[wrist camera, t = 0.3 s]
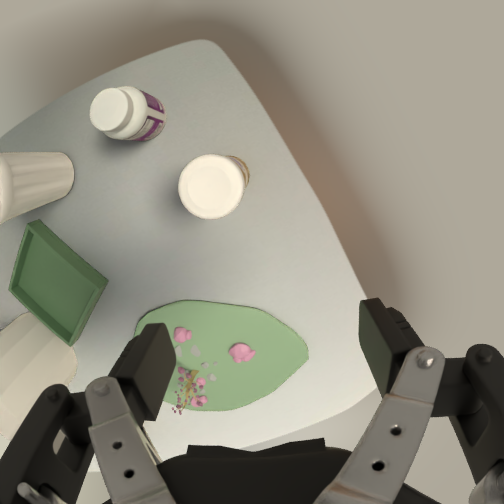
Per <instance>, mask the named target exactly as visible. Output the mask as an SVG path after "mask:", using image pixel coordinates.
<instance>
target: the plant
mask: <svg viewBox="0 0 504 504" xmlns="http://www.w3.org/2000/svg"><path fill="white" fill-rule="evenodd" d="M148 323H165V325H166V326H167V329H168V332H169V335H170V338H171V341H172V344H173V347H174V350H175V353H176V366H175V369H174V372H173V374H172V377H171V380H170V382H169V385H168V388H167V391H166V393H165V396H164V399H163V401H165V402H168V403H170V404H173V405H176V407H177V408H178V409H180V408H181V407H182V408H183V409H184V408H185V409H189V410H194V411H227V410H234V409H237V408H240V407H243V406H245V405H248V404H250V403H252V402H254V401H256V400H258V399H260V398H262V397H264V396H266V395H268V394H270V393H272V392H273V391H274V390H276V389H277V388H278V387H279V386H280V385H281V384H282V383H284V382H285V381H286V380H287V379H288V378H289V377H290V376H291V375H292V374H293V373H294V372H295V371H297V370H298V369H299V368H300V367H301V366H302V365H303V364H304V363H305V362H306V361H307V360H308V348H307V345H306V344H305V342H304V341H303V340H302V338H301V337H300V336H299V335H298V334H297V333H296V332H295V331H294V330H292V329H291V328H290V327H288V326H286V325H285V324H283V323H282V322H280V321H279V320H277V319H276V318H274V317H273V316H271V315H270V314H268V313H266V312H264V311H261V310H259V309H255V308H251V307H245V306H237V305H229V304H221V303H214V302H206V301H195V300H182V301H178V302H175V303H171V304H168V305H166V306H163V307H161V308H158V309H156V310H154V311H151V312H149V313H148V314H146V315H145V316H144V317H143V318H142V319H141V320H140V321H139V323H138V324H137V328H136V331H135V335H134V337H135V336H137V335H140V333H141V332H142V330H143V328H144V327H145V325H146V324H148ZM183 409H182V410H183ZM172 410H174V408H172ZM176 410H177V409H176ZM176 410H174V413H176ZM182 410H181V411H182ZM181 411H180V410H179V414H180V415H181Z"/></svg>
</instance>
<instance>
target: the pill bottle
mask: <svg viewBox="0 0 504 504" xmlns="http://www.w3.org/2000/svg"><path fill="white" fill-rule="evenodd" d="M166 117H167V115H166V109H165V107H164V105H163V104H162V102H161V101H160V100H158V99H157V98H155V97H153V96H151V95H149V94H147V93H145V92H143V91H141V90H139V89H137V88H134V87H129V86H123V87H118V88H108V89H105V90H103V91H102V92H100V93H99V94H98V95H97V96H96V97H95V99H94V100H93V102H92V105H91V108H90V119H91V122H92V124H93V125H94V126H95V127H96V128H97V129H99V130H102V132H103V133H104V134H105V135H107V136H108V137H110V138H113V139H120V140H137V141H145V140H149V139H152V138H154V137H155V136H157V135H158V134H159V133H160V132H161V130H162V129H163V127H164V125H165V123H166Z"/></svg>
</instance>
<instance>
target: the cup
mask: <svg viewBox="0 0 504 504" xmlns="http://www.w3.org/2000/svg"><path fill="white" fill-rule="evenodd" d="M73 182H74V169H73V165H72V162H71V161H70V159H69V158H68V156H67V155H65V154H63V153H61V152H7V153H0V225H1V224H2V223H4V222H5V221H7V220H10V219H12V218H14V217H16V216H19V215H21V214H23V213H26V212H28V211H30V210H33V209H35V208H37V207H40V206H42V205H45V204H47V203H50V202H53V201H55V200H58V199H60V198H62V197H64V196H66V195H67V193H68V192H69V191H70V190H71V187H72V184H73Z"/></svg>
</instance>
